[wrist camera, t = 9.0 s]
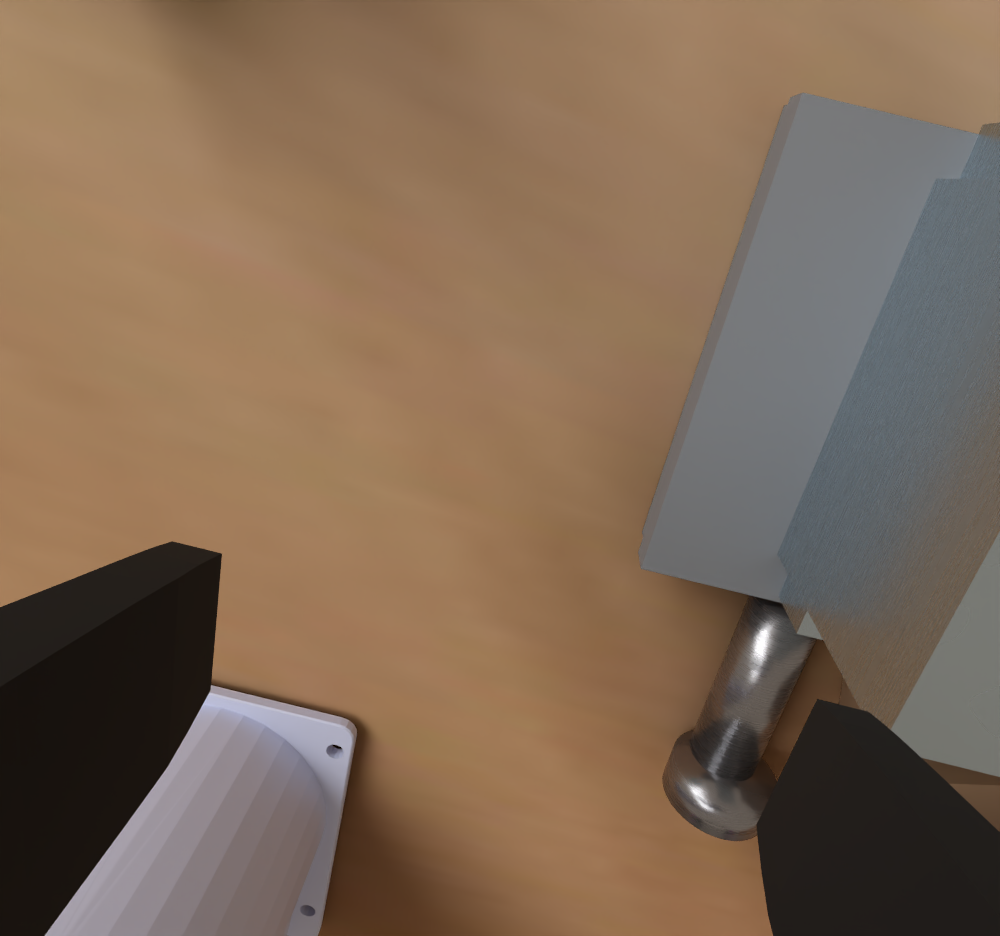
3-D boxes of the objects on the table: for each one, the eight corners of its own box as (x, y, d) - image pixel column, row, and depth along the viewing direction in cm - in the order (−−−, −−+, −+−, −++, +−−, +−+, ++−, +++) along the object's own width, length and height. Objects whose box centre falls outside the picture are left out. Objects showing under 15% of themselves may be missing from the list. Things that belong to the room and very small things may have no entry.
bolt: (752, 770, 21) (776, 852, 18) (658, 746, 21) (668, 825, 18) (833, 596, 19) (873, 663, 16) (727, 570, 19) (749, 632, 16)
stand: (1017, 622, 19) (1066, 672, 17) (634, 529, 19) (641, 568, 17) (1255, 218, 15) (1353, 222, 13) (774, 103, 15) (803, 92, 13)
